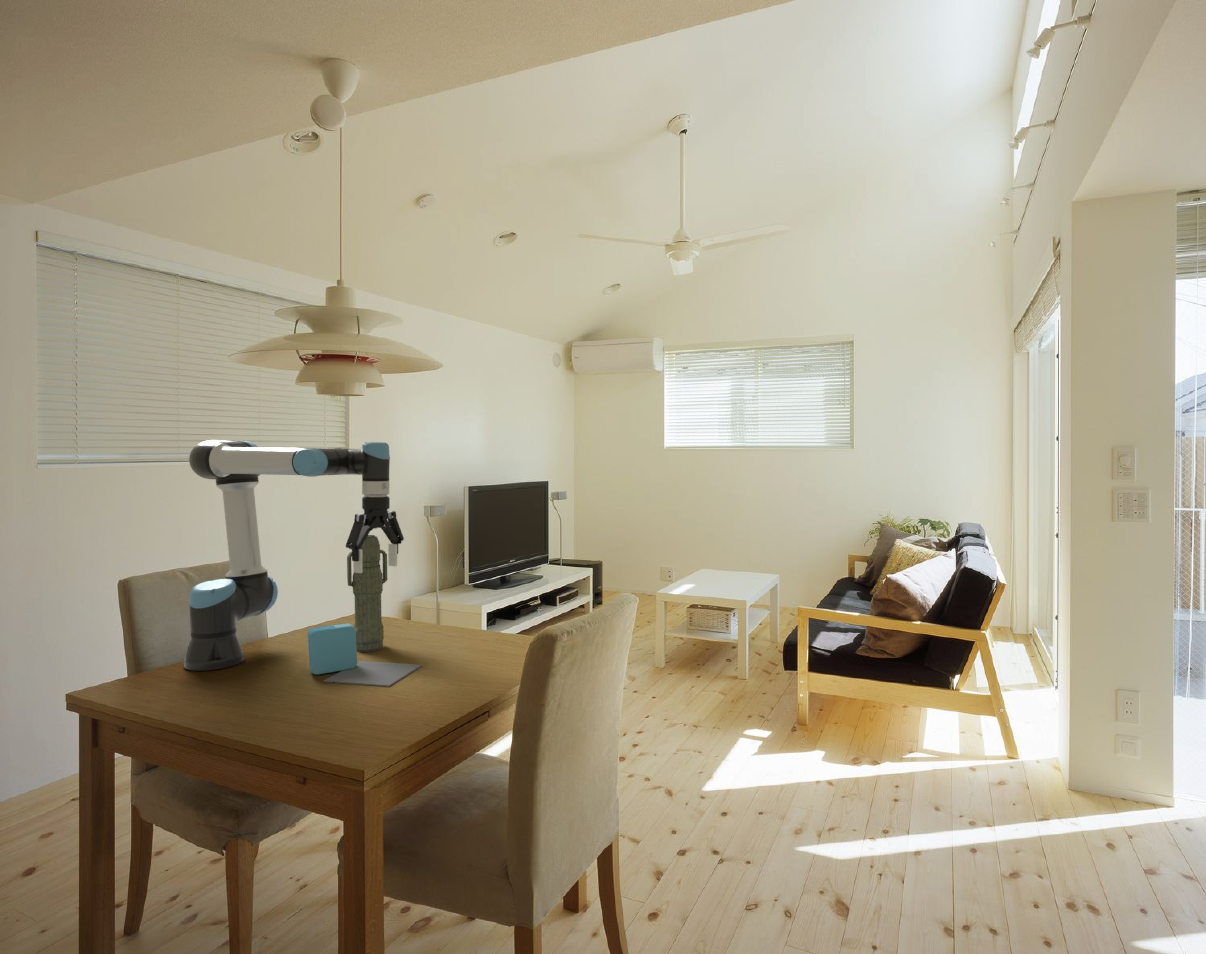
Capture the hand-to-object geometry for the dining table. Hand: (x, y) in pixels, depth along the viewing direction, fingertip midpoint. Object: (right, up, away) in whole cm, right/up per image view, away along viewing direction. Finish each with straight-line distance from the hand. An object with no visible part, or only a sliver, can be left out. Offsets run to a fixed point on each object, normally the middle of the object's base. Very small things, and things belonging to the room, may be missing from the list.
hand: (375, 569), depth 205 cm
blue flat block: (-9, -27, -8) cm, 30 cm away
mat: (+3, -27, -10) cm, 29 cm away
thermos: (-7, -27, +16) cm, 32 cm away
